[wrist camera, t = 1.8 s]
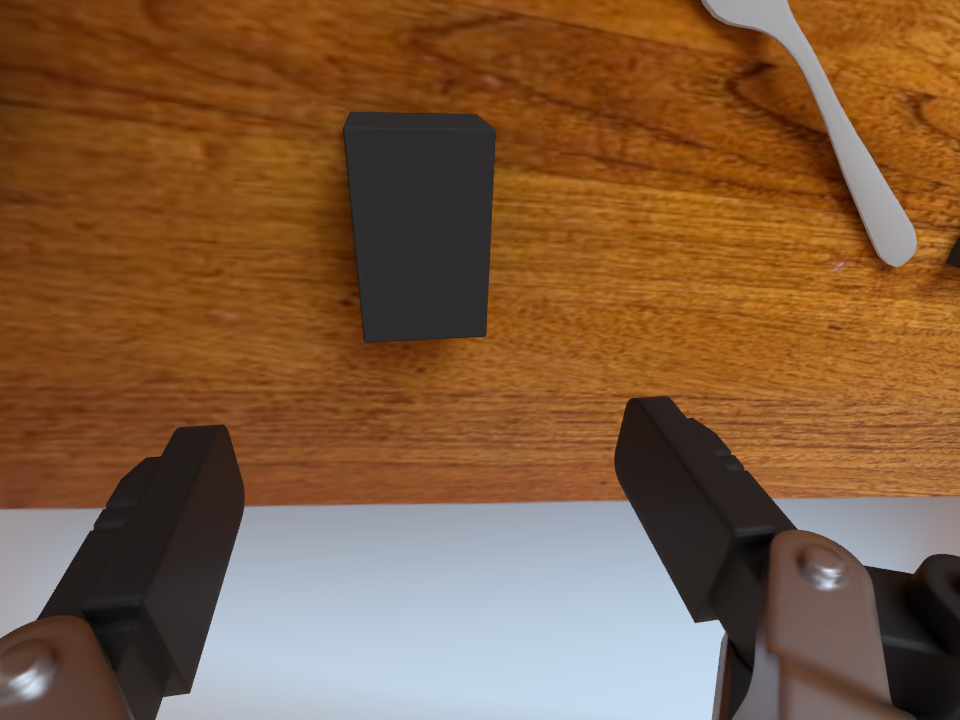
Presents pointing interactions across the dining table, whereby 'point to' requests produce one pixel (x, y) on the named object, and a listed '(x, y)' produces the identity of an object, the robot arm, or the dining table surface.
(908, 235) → the fork
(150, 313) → the dining table surface
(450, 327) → the pad
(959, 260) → the base pad
